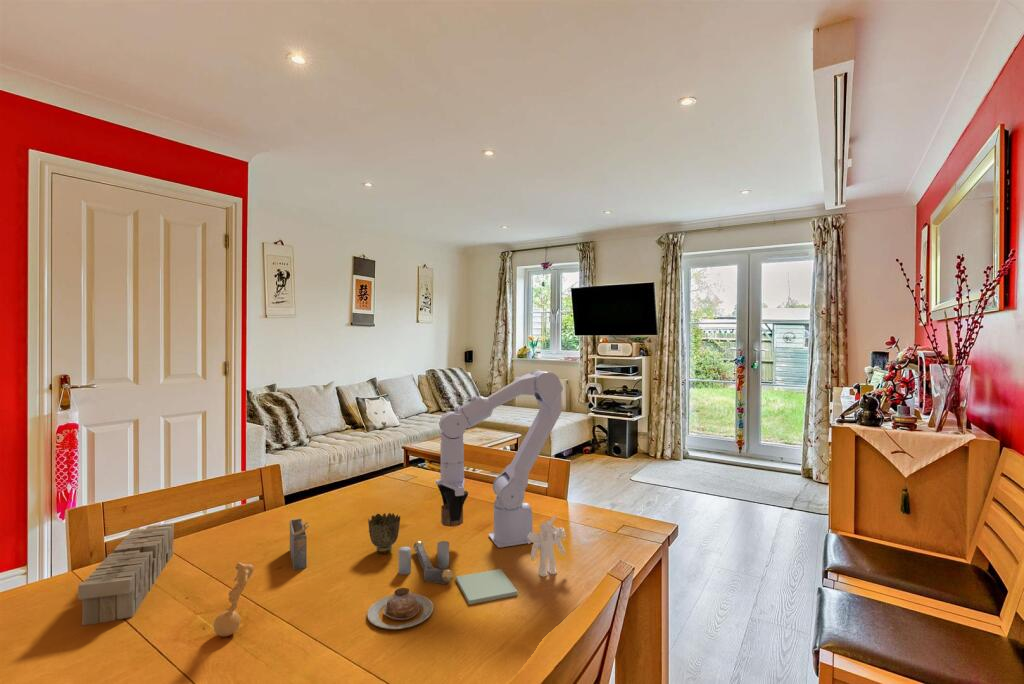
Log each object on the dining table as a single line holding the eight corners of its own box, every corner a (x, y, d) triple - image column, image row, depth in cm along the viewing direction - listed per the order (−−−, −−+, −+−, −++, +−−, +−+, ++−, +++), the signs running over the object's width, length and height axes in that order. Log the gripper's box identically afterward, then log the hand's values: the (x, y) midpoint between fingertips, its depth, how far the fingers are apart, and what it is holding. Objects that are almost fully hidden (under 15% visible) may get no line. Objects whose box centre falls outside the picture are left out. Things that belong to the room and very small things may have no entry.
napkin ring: (459, 517, 125) (459, 501, 125) (464, 524, 120) (464, 508, 120) (439, 520, 123) (439, 504, 123) (444, 527, 118) (444, 511, 118)
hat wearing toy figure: (561, 565, 111) (561, 512, 111) (569, 573, 108) (570, 518, 107) (524, 572, 108) (524, 517, 108) (531, 580, 104) (532, 523, 104)
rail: (435, 548, 120) (435, 536, 119) (454, 584, 102) (454, 571, 102) (411, 551, 118) (411, 540, 117) (427, 589, 100) (427, 575, 100)
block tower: (134, 564, 113) (75, 632, 85) (134, 527, 113) (75, 583, 86) (174, 558, 116) (130, 622, 88) (175, 522, 116) (130, 575, 88)
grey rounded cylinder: (409, 568, 109) (409, 545, 109) (411, 573, 107) (411, 550, 107) (397, 570, 108) (397, 547, 108) (399, 575, 106) (399, 552, 106)
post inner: (447, 562, 112) (447, 540, 112) (450, 567, 110) (450, 545, 110) (436, 564, 111) (436, 542, 111) (438, 569, 109) (438, 546, 109)
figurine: (214, 625, 87) (214, 557, 87) (252, 616, 90) (252, 550, 90) (212, 651, 80) (212, 578, 80) (254, 640, 83) (254, 569, 83)
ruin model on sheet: (308, 569, 109) (308, 525, 109) (293, 572, 108) (293, 528, 108) (303, 549, 119) (303, 509, 119) (289, 552, 118) (289, 511, 118)
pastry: (401, 643, 83) (401, 616, 83) (352, 621, 90) (352, 596, 90) (446, 610, 94) (446, 585, 94) (400, 592, 100) (400, 569, 100)
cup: (391, 559, 113) (391, 525, 113) (362, 556, 115) (362, 522, 115) (405, 546, 121) (405, 513, 120) (377, 543, 122) (377, 511, 122)
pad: (500, 572, 108) (500, 568, 108) (517, 595, 98) (517, 591, 98) (455, 580, 104) (455, 576, 104) (469, 604, 95) (469, 600, 95)
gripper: (430, 455, 127) (430, 508, 127) (442, 470, 113) (443, 529, 113) (456, 453, 129) (456, 505, 129) (472, 467, 116) (472, 525, 116)
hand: (452, 516), depth 121 cm, fingers closed on napkin ring, 5 cm apart
